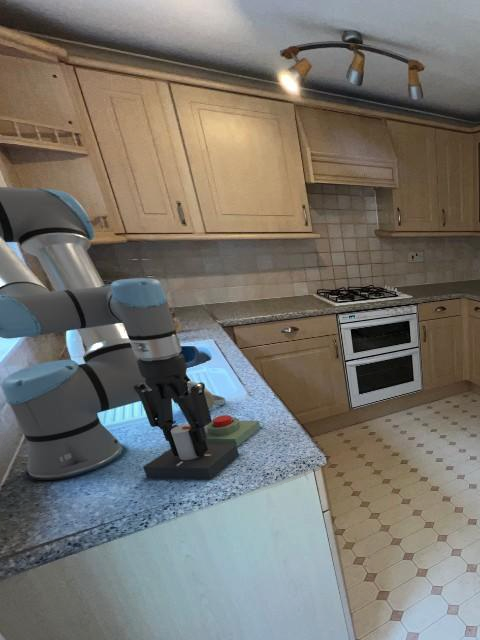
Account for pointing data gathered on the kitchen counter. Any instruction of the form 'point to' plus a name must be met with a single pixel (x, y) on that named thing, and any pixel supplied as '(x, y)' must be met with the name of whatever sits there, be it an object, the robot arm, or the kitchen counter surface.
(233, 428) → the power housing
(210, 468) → the panel
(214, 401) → the ceramic mug
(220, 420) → the power button
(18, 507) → the kitchen counter surface
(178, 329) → the figurine
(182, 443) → the timer dial
